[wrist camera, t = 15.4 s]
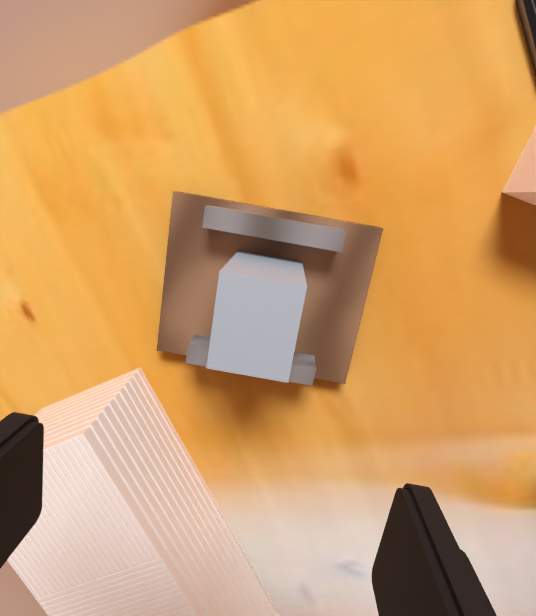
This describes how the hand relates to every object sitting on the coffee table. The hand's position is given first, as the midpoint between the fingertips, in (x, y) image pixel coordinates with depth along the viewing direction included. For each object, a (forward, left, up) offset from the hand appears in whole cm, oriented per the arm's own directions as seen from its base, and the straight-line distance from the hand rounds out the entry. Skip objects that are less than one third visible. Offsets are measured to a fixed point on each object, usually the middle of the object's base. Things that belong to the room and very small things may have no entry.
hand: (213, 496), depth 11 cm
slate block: (0, 0, -23) cm, 23 cm away
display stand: (0, 0, -24) cm, 24 cm away
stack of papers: (+5, +25, -25) cm, 36 cm away
